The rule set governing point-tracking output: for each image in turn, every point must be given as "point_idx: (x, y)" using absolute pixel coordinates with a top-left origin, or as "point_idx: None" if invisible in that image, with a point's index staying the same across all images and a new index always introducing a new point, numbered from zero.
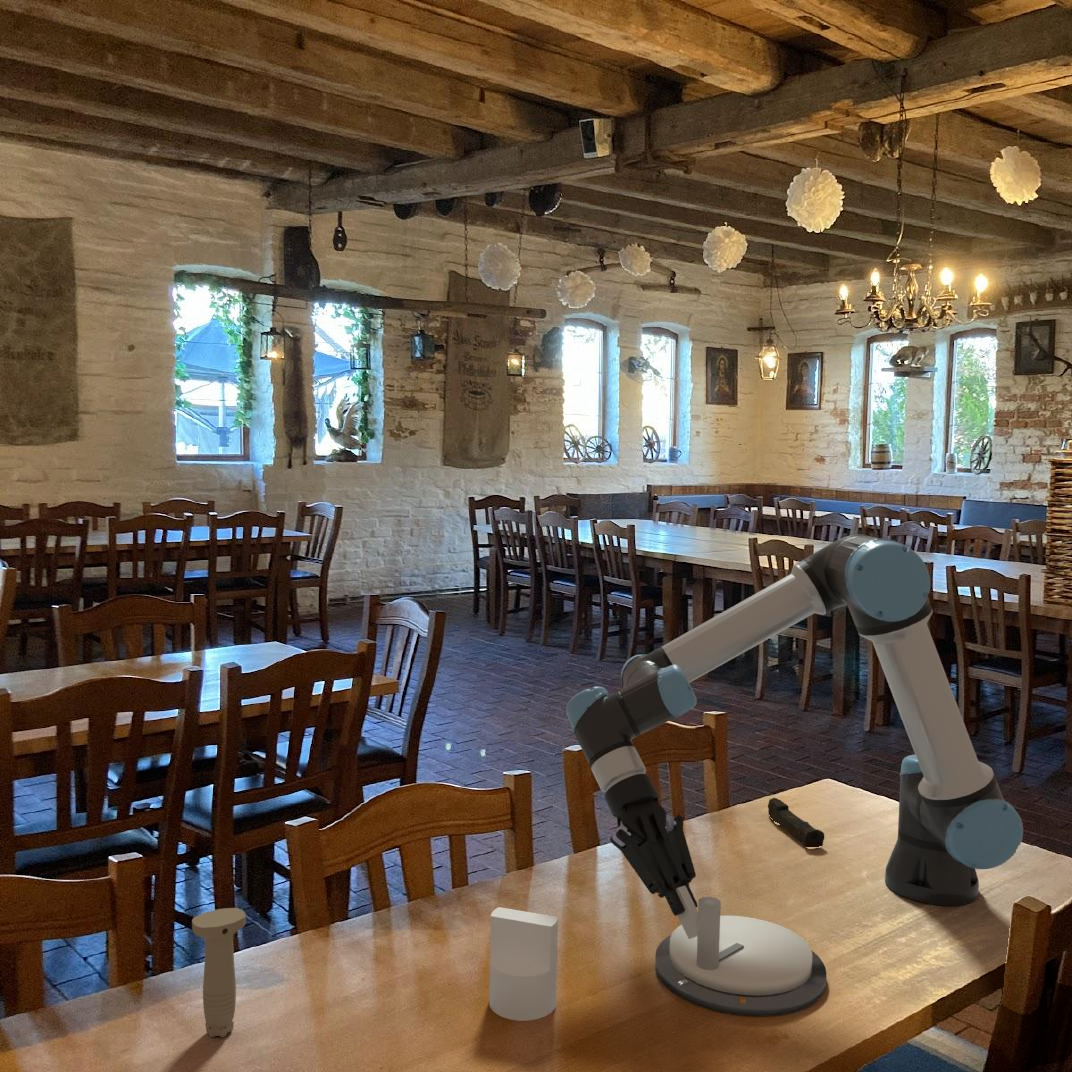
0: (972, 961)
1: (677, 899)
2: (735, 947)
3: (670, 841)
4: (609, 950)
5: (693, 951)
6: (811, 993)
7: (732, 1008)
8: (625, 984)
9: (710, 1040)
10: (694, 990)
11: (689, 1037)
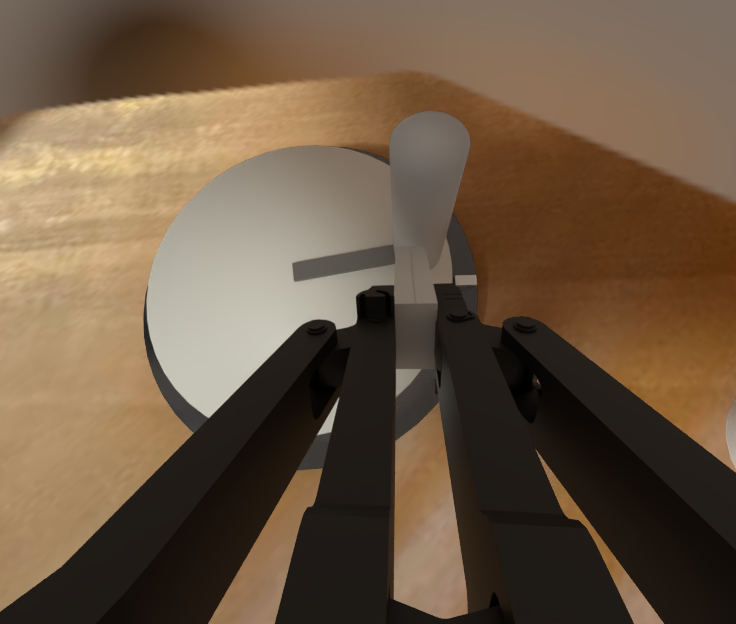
0: (9, 134)
1: (445, 301)
2: (313, 266)
3: (214, 597)
4: None
5: None
6: None
7: None
8: None
9: (517, 166)
10: (462, 252)
11: (543, 187)
